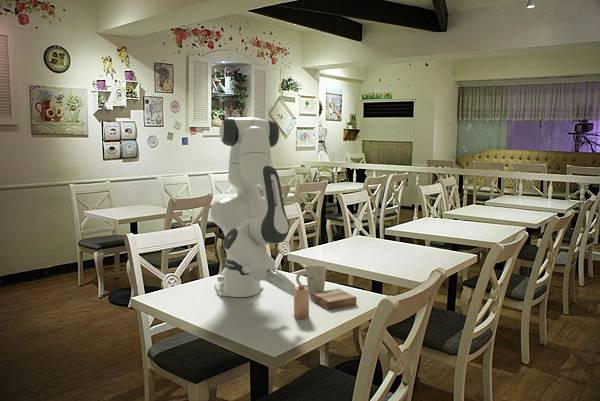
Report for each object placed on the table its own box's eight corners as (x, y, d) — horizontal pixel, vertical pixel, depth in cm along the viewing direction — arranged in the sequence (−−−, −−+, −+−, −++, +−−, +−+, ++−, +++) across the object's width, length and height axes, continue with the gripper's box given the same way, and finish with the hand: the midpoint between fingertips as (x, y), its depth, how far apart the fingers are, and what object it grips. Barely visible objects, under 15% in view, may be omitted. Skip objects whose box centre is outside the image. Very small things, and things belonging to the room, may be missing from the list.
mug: (324, 295, 198) (324, 271, 197) (293, 294, 201) (293, 269, 200) (327, 289, 206) (327, 266, 205) (297, 288, 209) (297, 264, 208)
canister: (291, 315, 177) (291, 284, 175) (304, 313, 179) (304, 282, 178) (298, 320, 172) (298, 288, 171) (311, 317, 175) (311, 286, 173)
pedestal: (312, 300, 193) (312, 293, 192) (338, 295, 198) (338, 288, 198) (329, 310, 182) (329, 302, 182) (356, 304, 188) (356, 297, 187)
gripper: (282, 266, 158) (309, 292, 164) (256, 253, 176) (281, 277, 181) (269, 282, 156) (297, 307, 162) (244, 267, 174) (270, 291, 180)
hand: (288, 291), depth 172 cm, fingers open, 8 cm apart
